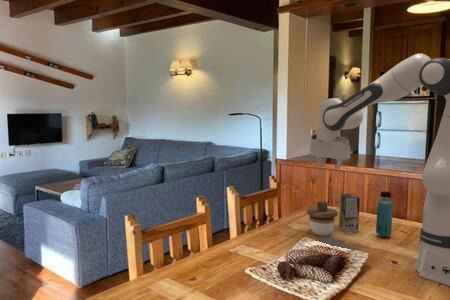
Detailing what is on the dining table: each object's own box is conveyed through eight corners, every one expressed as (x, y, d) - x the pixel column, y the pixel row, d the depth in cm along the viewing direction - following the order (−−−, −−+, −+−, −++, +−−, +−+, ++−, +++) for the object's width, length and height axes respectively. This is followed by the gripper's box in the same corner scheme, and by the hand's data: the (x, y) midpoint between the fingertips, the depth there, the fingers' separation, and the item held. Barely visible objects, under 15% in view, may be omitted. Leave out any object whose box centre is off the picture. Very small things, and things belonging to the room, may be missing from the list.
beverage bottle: (388, 234, 169) (391, 190, 166) (393, 239, 162) (396, 193, 160) (373, 234, 169) (375, 189, 167) (377, 239, 163) (380, 193, 160)
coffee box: (358, 233, 170) (360, 198, 168) (344, 233, 170) (345, 197, 168) (352, 227, 179) (353, 193, 177) (338, 226, 179) (339, 193, 177)
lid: (343, 215, 165) (344, 203, 165) (321, 219, 159) (322, 207, 158) (322, 208, 176) (322, 197, 176) (300, 212, 170) (301, 200, 169)
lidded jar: (336, 233, 170) (337, 212, 169) (329, 240, 161) (330, 218, 160) (313, 229, 176) (314, 209, 175) (305, 235, 167) (306, 214, 166)
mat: (358, 250, 150) (358, 248, 150) (328, 258, 142) (329, 256, 142) (328, 238, 164) (328, 236, 164) (299, 244, 156) (299, 243, 156)
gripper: (354, 137, 157) (353, 170, 158) (318, 134, 174) (317, 164, 175) (343, 137, 153) (342, 171, 155) (307, 135, 171) (307, 165, 172)
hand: (329, 168), depth 165 cm, fingers open, 8 cm apart
